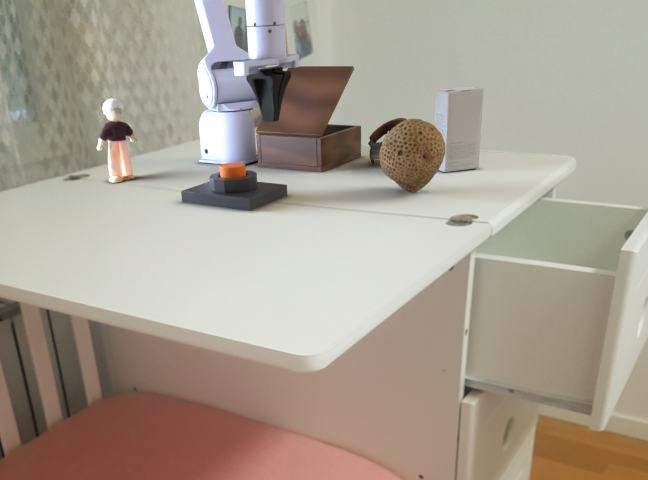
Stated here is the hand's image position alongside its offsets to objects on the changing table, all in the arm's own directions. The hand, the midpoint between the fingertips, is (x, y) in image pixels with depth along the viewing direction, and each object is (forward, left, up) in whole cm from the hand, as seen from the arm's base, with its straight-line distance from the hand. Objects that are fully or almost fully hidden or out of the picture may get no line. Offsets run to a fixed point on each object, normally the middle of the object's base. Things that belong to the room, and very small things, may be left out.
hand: (270, 121), depth 111 cm
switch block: (+4, -16, -8) cm, 18 cm away
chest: (0, +11, -8) cm, 14 cm away
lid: (0, +10, +2) cm, 10 cm away
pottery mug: (+15, +15, -9) cm, 23 cm away
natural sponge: (+25, -3, -9) cm, 27 cm away
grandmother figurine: (-22, -12, -9) cm, 26 cm away
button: (+4, -16, -5) cm, 17 cm away
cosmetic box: (+25, +14, -9) cm, 30 cm away
